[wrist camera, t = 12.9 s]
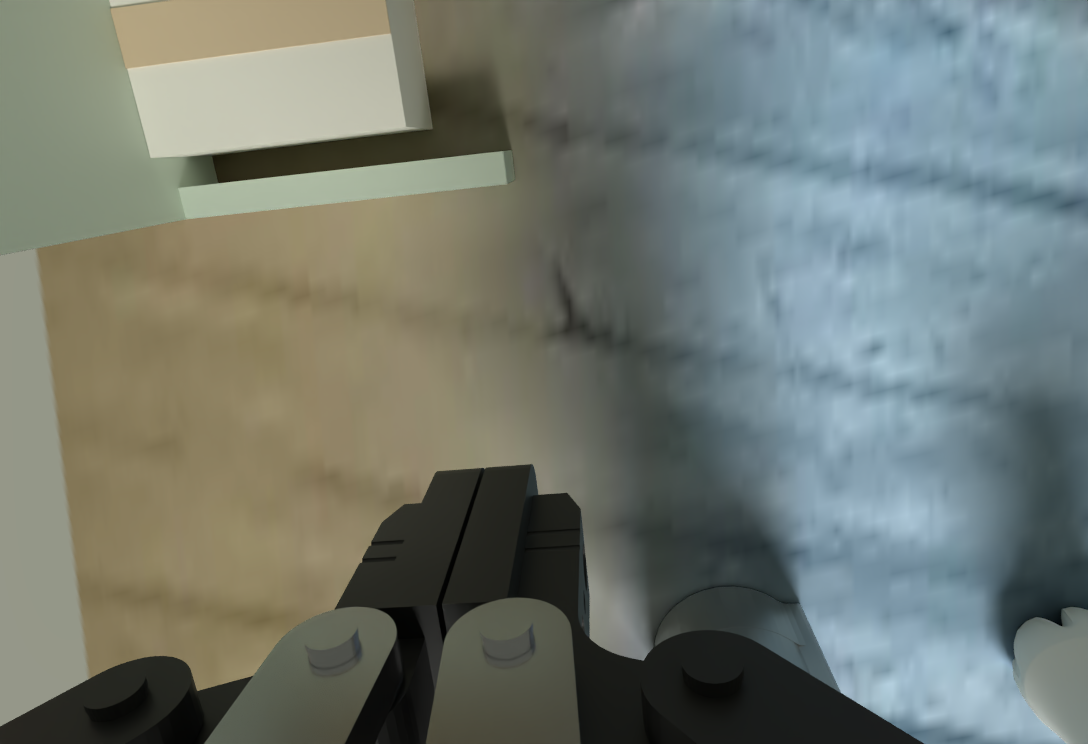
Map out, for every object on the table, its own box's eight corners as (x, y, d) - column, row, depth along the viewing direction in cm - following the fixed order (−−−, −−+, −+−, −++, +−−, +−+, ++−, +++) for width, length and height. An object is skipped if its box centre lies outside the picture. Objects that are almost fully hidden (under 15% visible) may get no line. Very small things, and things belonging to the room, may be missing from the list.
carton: (401, -90, 35) (363, -136, 29) (433, 129, 38) (405, 126, 32) (165, -54, 36) (83, -92, 30) (215, 155, 39) (149, 157, 33)
